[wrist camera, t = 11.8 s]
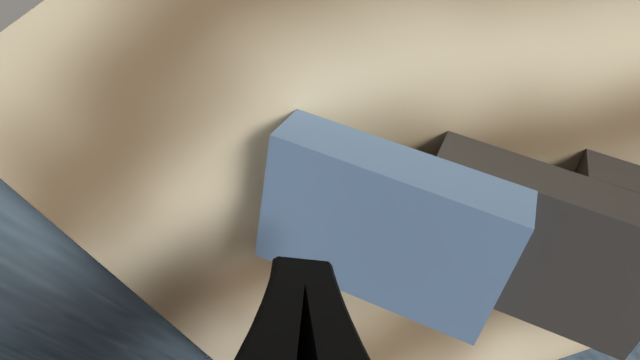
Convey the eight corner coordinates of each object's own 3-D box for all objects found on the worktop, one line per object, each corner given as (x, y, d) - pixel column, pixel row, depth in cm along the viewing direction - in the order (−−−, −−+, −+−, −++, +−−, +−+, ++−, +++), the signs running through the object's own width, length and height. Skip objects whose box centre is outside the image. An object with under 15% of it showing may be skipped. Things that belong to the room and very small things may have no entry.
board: (906, 215, 20) (932, 233, 19) (310, 423, 27) (310, 442, 26) (976, -684, 9) (1047, -734, 8) (-72, 84, 16) (-92, 99, 15)
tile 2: (448, 130, 16) (696, 212, 14) (411, 238, 19) (619, 318, 17) (435, 157, 15) (710, 251, 13) (397, 270, 17) (623, 361, 16)
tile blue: (297, 108, 16) (537, 191, 14) (279, 223, 18) (481, 303, 16) (269, 134, 14) (534, 229, 13) (254, 254, 17) (473, 345, 15)
